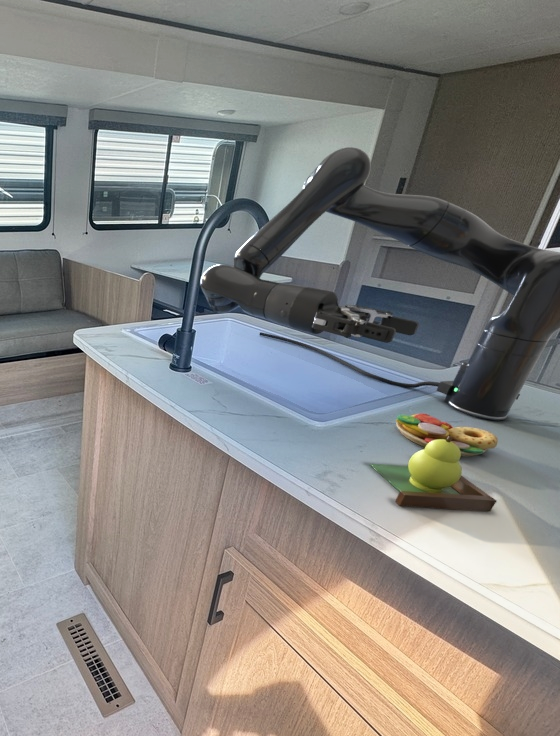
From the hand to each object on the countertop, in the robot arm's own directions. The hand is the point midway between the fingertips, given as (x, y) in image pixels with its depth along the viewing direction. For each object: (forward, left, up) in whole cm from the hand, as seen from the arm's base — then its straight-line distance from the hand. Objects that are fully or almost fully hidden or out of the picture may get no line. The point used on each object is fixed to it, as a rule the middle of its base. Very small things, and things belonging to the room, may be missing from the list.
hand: (405, 332), depth 65 cm
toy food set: (-1, +20, -22) cm, 30 cm away
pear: (+9, +3, -22) cm, 24 cm away
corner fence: (+8, +3, -22) cm, 24 cm away
